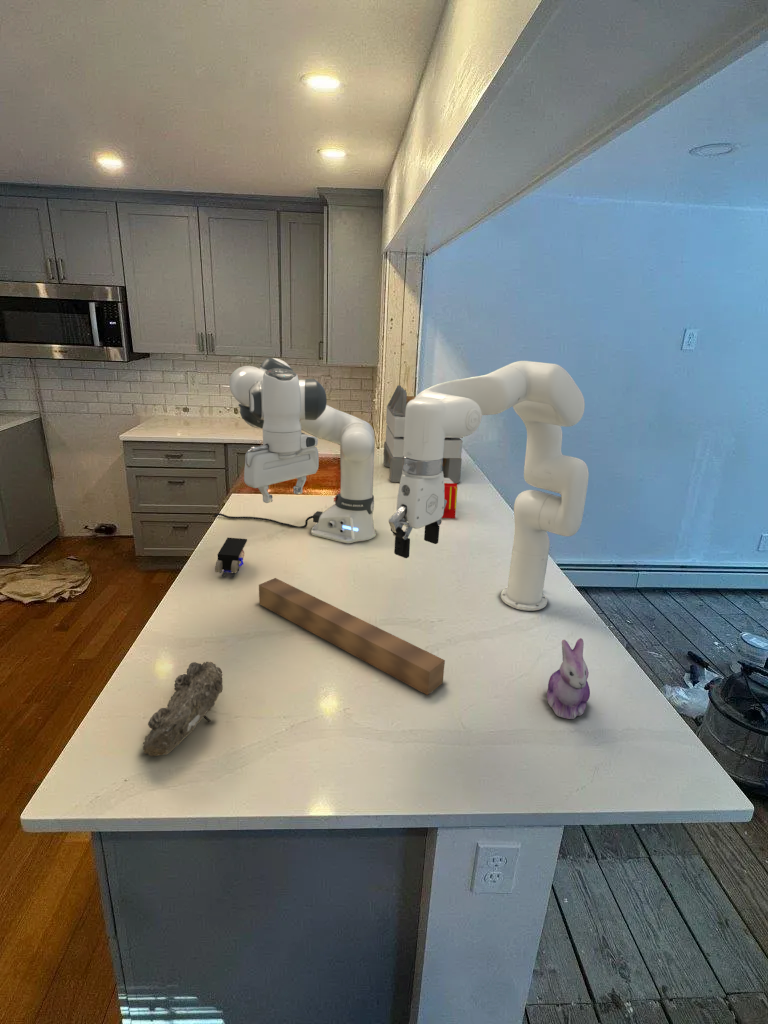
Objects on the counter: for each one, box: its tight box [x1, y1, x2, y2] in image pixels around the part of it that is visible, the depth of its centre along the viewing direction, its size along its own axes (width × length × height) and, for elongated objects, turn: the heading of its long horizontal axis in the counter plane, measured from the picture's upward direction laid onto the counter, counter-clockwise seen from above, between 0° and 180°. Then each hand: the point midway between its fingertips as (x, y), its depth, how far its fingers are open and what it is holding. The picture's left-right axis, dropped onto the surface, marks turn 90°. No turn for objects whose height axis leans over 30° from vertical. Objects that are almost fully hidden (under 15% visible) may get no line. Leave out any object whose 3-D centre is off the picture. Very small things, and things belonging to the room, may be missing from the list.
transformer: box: [383, 384, 464, 484], centre depth 268 cm, size 34×33×41 cm
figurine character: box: [214, 537, 248, 578], centre depth 166 cm, size 7×8×15 cm
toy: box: [441, 478, 458, 519], centre depth 227 cm, size 12×13×30 cm
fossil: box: [142, 661, 224, 757], centre depth 105 cm, size 22×10×15 cm
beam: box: [258, 577, 446, 696], centre depth 134 cm, size 54×6×6 cm, turn 50°
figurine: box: [546, 637, 591, 720], centre depth 113 cm, size 9×10×15 cm
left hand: (283, 497), depth 136 cm, fingers open, 8 cm apart
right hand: (416, 548), depth 113 cm, fingers open, 9 cm apart
